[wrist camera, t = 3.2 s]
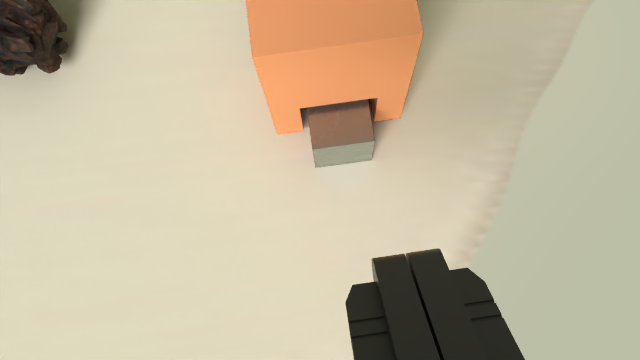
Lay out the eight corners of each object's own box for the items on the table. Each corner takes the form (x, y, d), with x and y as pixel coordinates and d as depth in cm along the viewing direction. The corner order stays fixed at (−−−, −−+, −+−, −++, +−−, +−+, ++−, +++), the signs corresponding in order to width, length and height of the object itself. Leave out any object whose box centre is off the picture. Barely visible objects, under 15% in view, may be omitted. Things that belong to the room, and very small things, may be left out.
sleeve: (400, 117, 29) (423, 33, 21) (277, 134, 29) (251, 57, 21) (387, 51, 30) (405, -55, 22) (269, 67, 30) (242, -33, 22)
